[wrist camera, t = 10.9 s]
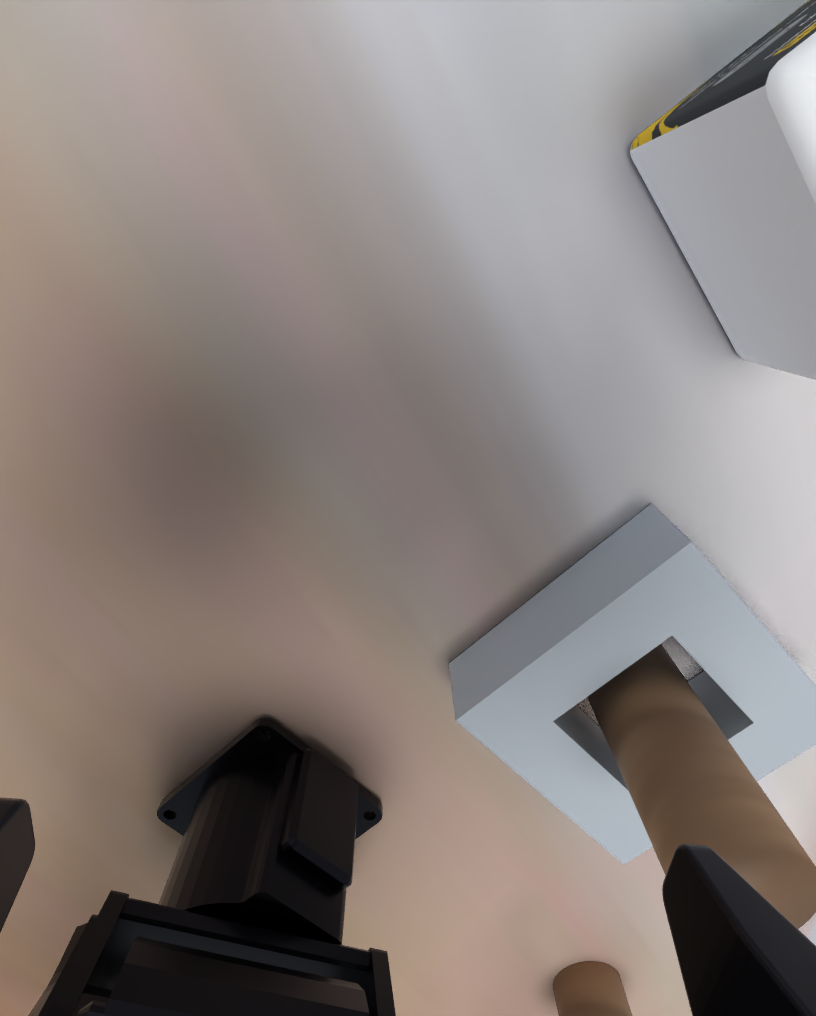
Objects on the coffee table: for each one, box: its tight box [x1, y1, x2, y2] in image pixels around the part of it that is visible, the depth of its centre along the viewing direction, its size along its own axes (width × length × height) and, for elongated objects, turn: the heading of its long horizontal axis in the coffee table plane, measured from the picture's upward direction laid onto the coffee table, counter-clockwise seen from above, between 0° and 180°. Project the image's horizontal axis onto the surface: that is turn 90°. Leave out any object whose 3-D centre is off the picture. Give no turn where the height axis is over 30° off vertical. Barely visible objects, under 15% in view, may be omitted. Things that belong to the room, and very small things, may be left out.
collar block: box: [448, 503, 816, 865], centre depth 21 cm, size 9×9×3 cm
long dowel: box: [587, 644, 816, 929], centre depth 18 cm, size 3×3×9 cm
